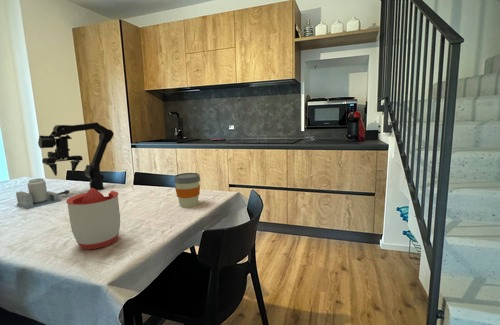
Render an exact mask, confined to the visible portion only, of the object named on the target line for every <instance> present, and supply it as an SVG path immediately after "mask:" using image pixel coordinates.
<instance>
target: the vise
mask: <svg viewBox="0 0 500 325" xmlns="http://www.w3.org/2000/svg"><path fill="white" fill-rule="evenodd" d="M47 194H48V199H47V200H46V201H44V202H40V203H33V200H32V194H29V192H25V191H22V190H20V191H17V192H15V195H16V201H17V203H16V206H17V207H20V208H22V207H23V209H25V208H26V209H25V210H30V209H29V208H31V209H35V208H38V206H39V207H41V206H42V205H43V206H46V205H50V204H51V205H52V204H54V203H59V202H61V201H62V199H61V198H60V195H69V194H70V190H68V189H65V190H64V191H62V192H58V193H57V192H54V191H50V190H49V191H48V190H47ZM34 207H35V208H34Z"/></svg>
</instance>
